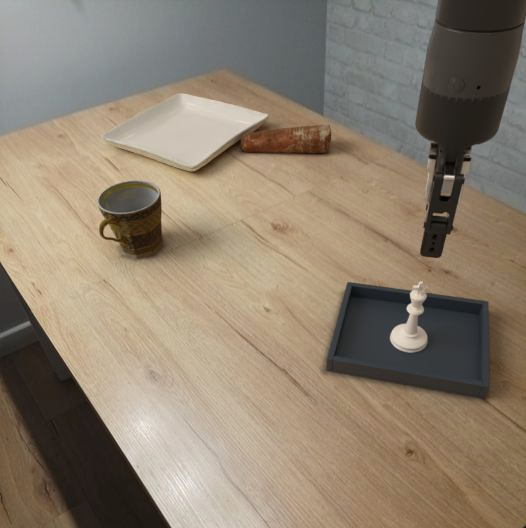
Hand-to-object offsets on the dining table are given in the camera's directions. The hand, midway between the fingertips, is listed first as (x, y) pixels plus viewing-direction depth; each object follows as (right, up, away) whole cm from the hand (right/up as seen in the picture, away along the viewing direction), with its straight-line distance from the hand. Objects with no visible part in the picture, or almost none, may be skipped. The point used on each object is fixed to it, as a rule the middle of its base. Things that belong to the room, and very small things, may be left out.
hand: (432, 232), depth 57 cm
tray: (+1, -12, +13) cm, 18 cm away
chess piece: (+1, -12, +13) cm, 17 cm away
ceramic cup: (-40, +3, +31) cm, 51 cm away
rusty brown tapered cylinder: (-14, +29, +52) cm, 61 cm away
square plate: (-36, +34, +59) cm, 77 cm away
